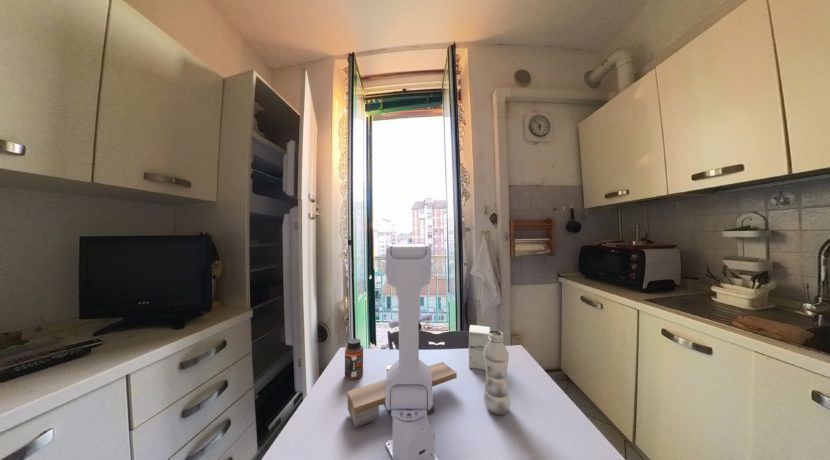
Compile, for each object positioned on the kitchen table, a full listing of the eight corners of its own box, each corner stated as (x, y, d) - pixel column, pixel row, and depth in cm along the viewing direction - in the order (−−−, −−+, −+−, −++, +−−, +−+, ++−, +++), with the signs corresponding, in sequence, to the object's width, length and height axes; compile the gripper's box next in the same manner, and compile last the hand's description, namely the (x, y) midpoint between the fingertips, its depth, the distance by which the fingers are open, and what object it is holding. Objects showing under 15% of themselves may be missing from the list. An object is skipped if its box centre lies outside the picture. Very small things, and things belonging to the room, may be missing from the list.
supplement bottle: (358, 381, 77) (358, 345, 77) (341, 379, 78) (341, 343, 79) (366, 371, 83) (366, 337, 83) (349, 369, 84) (349, 336, 84)
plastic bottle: (493, 421, 61) (492, 339, 61) (479, 403, 67) (478, 329, 68) (515, 415, 62) (514, 336, 63) (499, 398, 69) (498, 327, 69)
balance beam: (456, 388, 72) (456, 372, 72) (354, 427, 57) (354, 407, 57) (442, 376, 78) (442, 361, 78) (347, 408, 63) (347, 391, 63)
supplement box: (468, 368, 85) (468, 331, 85) (469, 358, 92) (469, 324, 92) (490, 371, 83) (490, 333, 83) (490, 360, 90) (490, 326, 90)
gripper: (424, 297, 85) (424, 336, 85) (385, 303, 79) (385, 346, 78) (435, 302, 79) (435, 345, 79) (393, 309, 72) (394, 355, 72)
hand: (411, 346), depth 78 cm, fingers closed
